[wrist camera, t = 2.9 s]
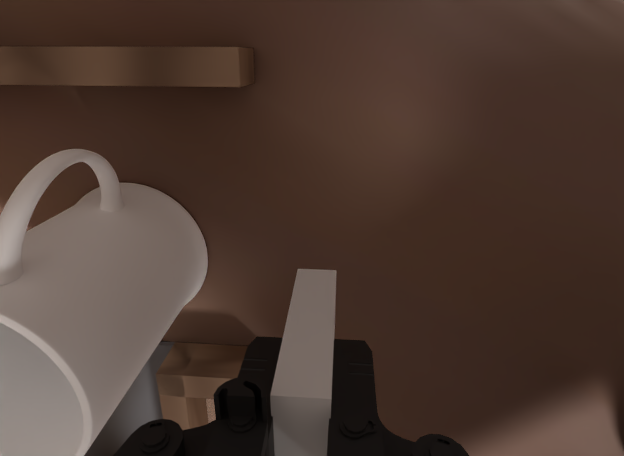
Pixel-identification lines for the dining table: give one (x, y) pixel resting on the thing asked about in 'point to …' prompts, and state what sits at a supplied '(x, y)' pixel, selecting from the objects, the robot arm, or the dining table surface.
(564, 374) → the dining table surface
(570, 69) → the dining table surface
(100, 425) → the mug
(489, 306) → the dining table surface
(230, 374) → the wooden compartment tray
